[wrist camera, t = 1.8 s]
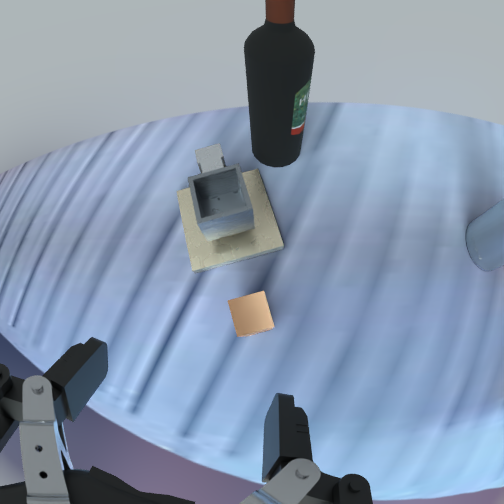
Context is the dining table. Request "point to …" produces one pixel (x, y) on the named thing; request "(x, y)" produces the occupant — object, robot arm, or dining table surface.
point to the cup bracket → (226, 213)
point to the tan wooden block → (251, 314)
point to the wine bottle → (278, 84)
